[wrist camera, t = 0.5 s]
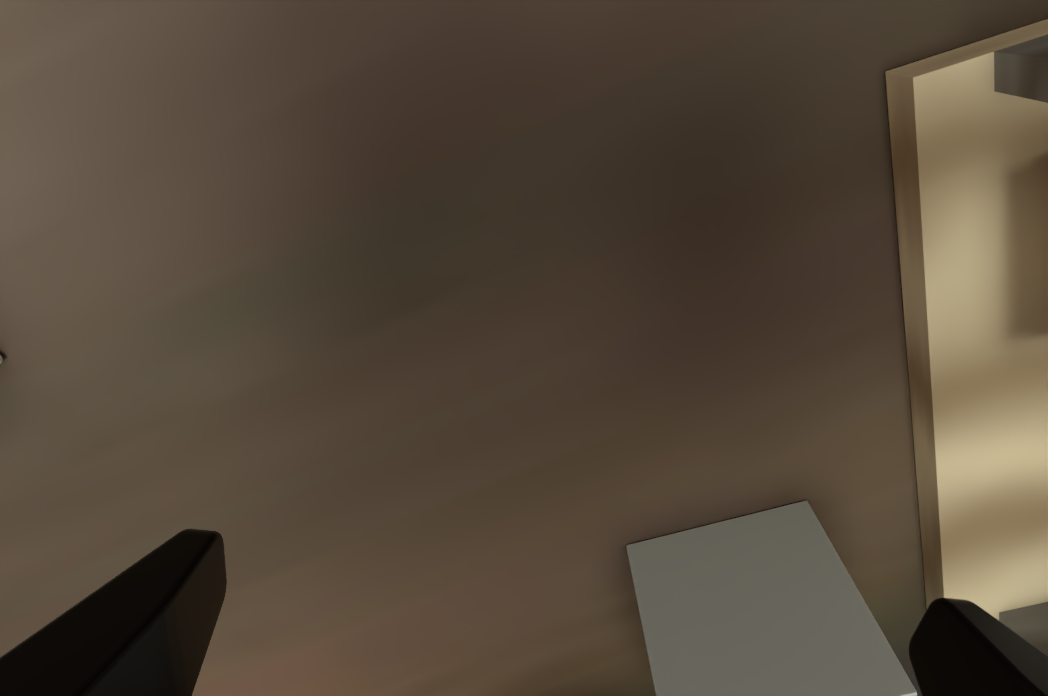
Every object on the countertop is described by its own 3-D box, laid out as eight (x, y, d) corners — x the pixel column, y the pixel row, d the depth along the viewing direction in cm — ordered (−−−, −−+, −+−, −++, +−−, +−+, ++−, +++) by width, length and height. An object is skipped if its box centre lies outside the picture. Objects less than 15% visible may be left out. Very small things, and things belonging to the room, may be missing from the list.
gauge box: (828, 624, 29) (929, 829, 22) (665, 661, 30) (712, 869, 23) (806, 500, 26) (916, 691, 19) (625, 545, 27) (666, 744, 20)
